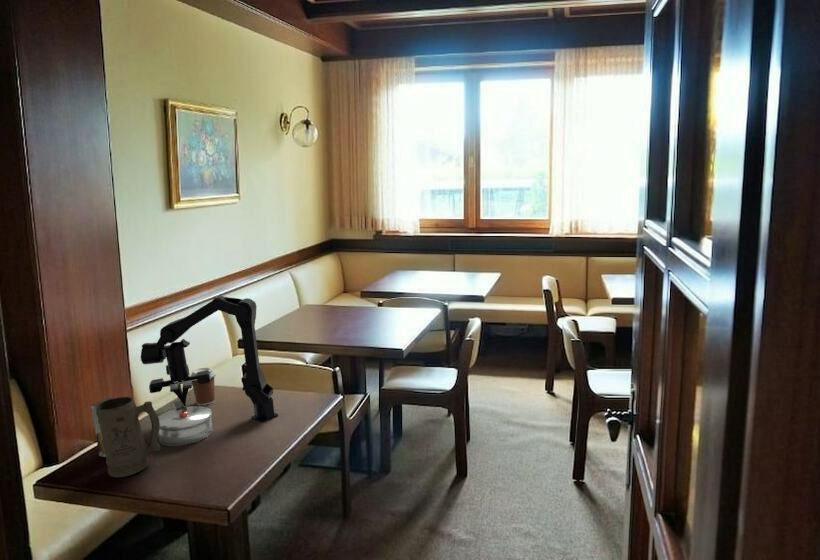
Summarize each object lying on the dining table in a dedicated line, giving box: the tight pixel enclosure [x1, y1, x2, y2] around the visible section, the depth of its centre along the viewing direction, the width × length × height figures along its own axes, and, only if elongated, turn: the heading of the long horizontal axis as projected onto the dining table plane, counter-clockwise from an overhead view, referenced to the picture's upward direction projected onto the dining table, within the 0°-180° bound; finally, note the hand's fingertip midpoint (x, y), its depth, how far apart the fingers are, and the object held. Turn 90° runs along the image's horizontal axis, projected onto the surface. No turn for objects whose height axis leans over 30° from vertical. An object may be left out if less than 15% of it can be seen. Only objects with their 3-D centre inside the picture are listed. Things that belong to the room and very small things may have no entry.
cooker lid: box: [159, 400, 213, 430], centre depth 203 cm, size 23×17×2 cm
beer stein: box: [96, 396, 161, 478], centre depth 179 cm, size 15×11×20 cm
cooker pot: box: [157, 411, 214, 447], centre depth 203 cm, size 22×16×5 cm
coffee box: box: [90, 397, 114, 458], centre depth 189 cm, size 9×6×16 cm
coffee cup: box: [189, 367, 217, 406], centre depth 230 cm, size 9×9×12 cm
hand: (184, 405), depth 212 cm, fingers closed
